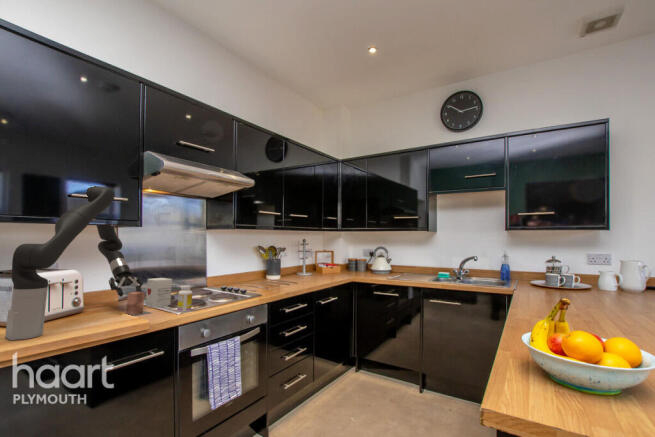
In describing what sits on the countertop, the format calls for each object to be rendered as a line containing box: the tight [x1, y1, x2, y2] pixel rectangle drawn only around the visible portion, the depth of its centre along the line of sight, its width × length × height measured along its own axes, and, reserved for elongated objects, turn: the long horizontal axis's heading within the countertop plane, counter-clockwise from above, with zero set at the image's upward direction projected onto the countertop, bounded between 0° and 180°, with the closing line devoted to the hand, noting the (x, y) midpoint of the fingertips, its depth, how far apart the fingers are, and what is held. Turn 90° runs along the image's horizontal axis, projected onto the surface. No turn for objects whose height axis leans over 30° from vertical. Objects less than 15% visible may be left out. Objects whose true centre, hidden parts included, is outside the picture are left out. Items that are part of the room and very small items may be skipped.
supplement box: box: [145, 277, 173, 309], centre depth 172 cm, size 9×9×15 cm
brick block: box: [125, 291, 145, 315], centre depth 151 cm, size 5×5×10 cm
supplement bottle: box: [176, 284, 193, 313], centre depth 162 cm, size 7×7×13 cm
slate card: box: [124, 310, 152, 317], centre depth 151 cm, size 12×10×1 cm
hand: (131, 294), depth 154 cm, fingers open, 8 cm apart
